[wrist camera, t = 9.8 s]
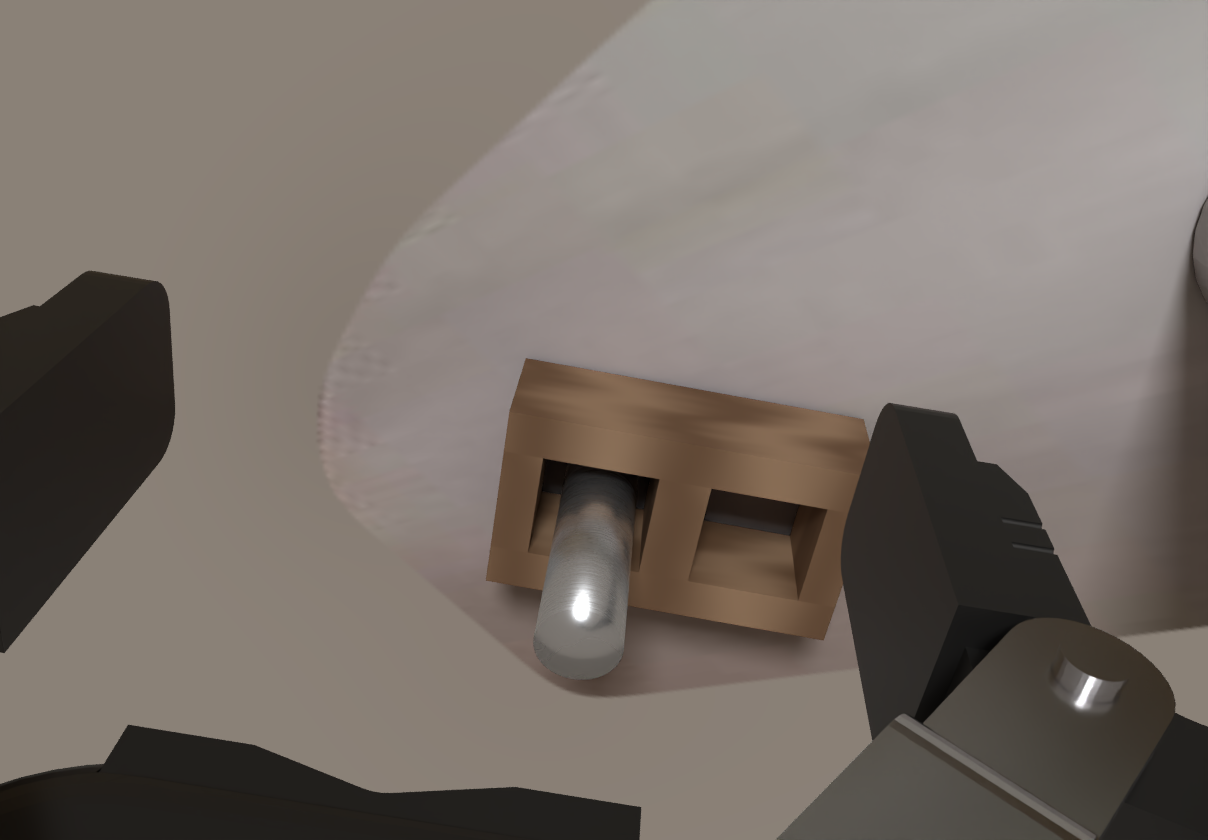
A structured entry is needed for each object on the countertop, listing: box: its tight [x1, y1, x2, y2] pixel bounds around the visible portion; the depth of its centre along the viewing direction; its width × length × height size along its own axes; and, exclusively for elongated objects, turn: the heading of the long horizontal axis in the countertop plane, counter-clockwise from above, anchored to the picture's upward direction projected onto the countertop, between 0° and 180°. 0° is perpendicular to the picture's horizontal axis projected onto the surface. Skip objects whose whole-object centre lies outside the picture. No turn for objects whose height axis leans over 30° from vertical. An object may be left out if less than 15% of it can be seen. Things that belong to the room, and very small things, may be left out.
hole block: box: [486, 358, 870, 640], centre depth 45 cm, size 14×8×4 cm, turn 81°
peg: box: [533, 463, 638, 680], centre depth 42 cm, size 3×3×12 cm
